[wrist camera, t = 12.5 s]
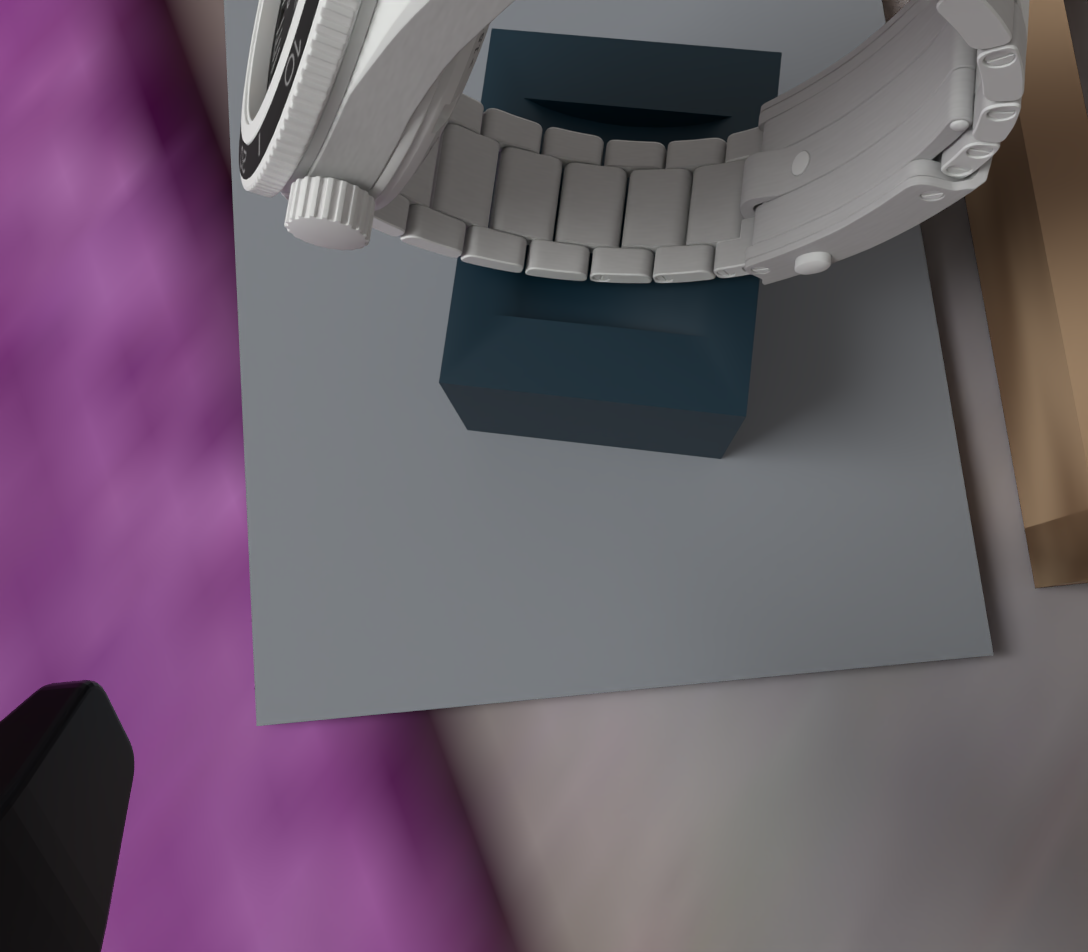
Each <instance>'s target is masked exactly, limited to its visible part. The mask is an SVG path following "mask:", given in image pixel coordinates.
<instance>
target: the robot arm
mask: <svg viewBox="0 0 1088 952" xmlns="http://www.w3.org/2000/svg"><path fill="white" fill-rule="evenodd" d="M133 775H134V754H133V750H132V746H131V743H130V741H129V739H128V737H127V735H126V733H125V731H124V729H123V727H122V725H121V723H120V721H119V719H118V717H117V715H116V712H115V710H114V708H113V706H112V704H111V702H110V700H109V698H108V696H107V694H106V692H105V691H104V689H103V688H102V687H101V686H100V685H99V684H98V683H96V682H95V681H90V680H82V681H72V682H61V683H52V684H48V685H45V686H43V687H41V688H40V689H39V690H37V691H36V692H35V693H33V694H32V695H31V696H30V697H29V698H27V699H26V700H25V701H24V702H23V703H22V704H20V705H19V706H18V707H17V708H16V709H15V710H13V711H12V712H11V713H10V714H9V715H8V716H6V717H5V718H4V719H3V720H2V721H0V952H101V949H102V944H103V939H104V934H105V930H106V925H107V920H108V915H109V909H110V904H111V898H112V892H113V887H114V881H115V876H116V870H117V865H118V859H119V854H120V848H121V842H122V837H123V831H124V826H125V820H126V815H127V809H128V804H129V798H130V792H131V787H132V781H133Z"/></svg>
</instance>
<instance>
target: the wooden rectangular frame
mask: <svg viewBox="0 0 1088 952" xmlns="http://www.w3.org/2000/svg"><path fill="white" fill-rule="evenodd" d="M965 200H966V206H967V211H968V217H969V222H970V228H971V233H972V239H973V245H974V250H975V256H976V261H977V267H978V272H979V278H980V283H981V289H982V295H983V300H984V306H985V311H986V317H987V322H988V328H989V333H990V339H991V345H992V350H993V356H994V361H995V367H996V372H997V378H998V384H999V389H1000V395H1001V400H1002V406H1003V411H1004V417H1005V422H1006V428H1007V434H1008V439H1009V445H1010V450H1011V456H1012V461H1013V467H1014V472H1015V478H1016V484H1017V489H1018V495H1019V500H1020V506H1021V511H1022V517H1023V522H1024V528H1025V534H1026V539H1027V545H1028V550H1029V556H1030V561H1031V567H1032V572H1033V578H1034V584H1035V588H1042V587H1052V586H1063V585H1073V584H1083V583H1088V117H1087V112H1086V107H1085V103H1084V98H1083V93H1082V88H1081V83H1080V78H1079V73H1078V68H1077V64H1076V59H1075V54H1074V49H1073V44H1072V39H1071V34H1070V30H1069V25H1068V20H1067V15H1066V10H1065V5H1064V0H1029V18H1028V36H1027V50H1026V65H1025V83H1024V93H1023V95H1022V99H1021V110H1020V113H1019V115H1018V118H1017V121H1016V123H1015V125H1014V127H1013V128H1012V130H1011V131H1010V133H1009V134H1008V136H1007V137H1006V139H1004V140H1003V141H1001V142H1000V148H999V149H998V151H997V152H996V153H995V154H994V155H993V157H992V161H991V165H990V169H989V173H988V176H987V180H986V182H984V183H983V184H982V185H980V186H979V187H978V188H976V189H975V190H973V191H972V192H970V193H969V194H967V195H966V196H965Z"/></svg>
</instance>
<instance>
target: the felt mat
mask: <svg viewBox="0 0 1088 952" xmlns="http://www.w3.org/2000/svg"><path fill="white" fill-rule="evenodd" d="M258 3H259V0H224V15H225V37H226V59H227V81H228V103H229V125H230V147H231V169H232V191H233V213H234V235H235V257H236V280H237V302H238V324H239V346H240V368H241V390H242V412H243V434H244V456H245V478H246V500H247V522H248V545H249V567H250V589H251V611H252V633H253V655H254V677H255V699H256V721H257V726H262V725H273V724H283V723H294V722H304V721H314V720H325V719H335V718H346V717H356V716H366V715H377V714H387V713H398V712H408V711H418V710H429V709H439V708H450V707H460V706H470V705H481V704H491V703H502V702H512V701H522V700H533V699H543V698H554V697H564V696H574V695H585V694H595V693H606V692H616V691H626V690H637V689H647V688H658V687H668V686H679V685H689V684H699V683H710V682H720V681H731V680H741V679H751V678H762V677H772V676H783V675H793V674H803V673H814V672H824V671H835V670H845V669H855V668H866V667H876V666H887V665H897V664H907V663H918V662H928V661H939V660H949V659H959V658H970V657H980V656H991V655H994V654H993V649H992V643H991V637H990V631H989V625H988V619H987V613H986V608H985V602H984V596H983V590H982V584H981V578H980V572H979V567H978V561H977V555H976V549H975V543H974V537H973V531H972V526H971V520H970V514H969V508H968V502H967V496H966V490H965V485H964V479H963V473H962V467H961V461H960V455H959V449H958V444H957V438H956V432H955V426H954V420H953V414H952V408H951V403H950V397H949V391H948V385H947V379H946V373H945V368H944V362H943V356H942V350H941V344H940V338H939V332H938V327H937V321H936V315H935V309H934V303H933V297H932V291H931V286H930V280H929V274H928V268H927V262H926V256H925V250H924V245H923V239H922V233H921V227H920V224H918V225H916V226H914V227H912V228H911V229H909V230H907V231H905V232H903V233H901V234H899V235H897V236H895V237H893V238H891V239H889V240H887V241H885V242H883V243H881V244H879V245H876V246H874V247H872V248H870V249H867V250H865V251H863V252H860V253H858V254H855V255H853V256H850V257H848V258H845V259H843V260H840V261H837V262H834V263H832V264H831V265H830V267H829V268H828V269H827V270H825V271H822V272H819V273H815V274H809V275H803V274H800V275H797V276H793V277H790V278H787V279H784V280H780V281H777V282H773V283H770V284H766V285H764V284H763V283H762V279H761V278H760V281H759V292H758V302H757V312H756V322H755V332H754V342H753V353H752V363H751V373H750V383H749V393H748V404H747V414H746V418H745V420H744V421H743V423H742V425H741V426H740V428H739V430H738V431H737V433H736V435H735V436H734V438H733V440H732V441H731V443H730V445H729V446H728V448H727V450H726V451H725V453H724V455H723V456H722V458H721V459H715V458H707V457H698V456H689V455H680V454H672V453H663V452H654V451H645V450H637V449H628V448H619V447H610V446H602V445H593V444H584V443H575V442H567V441H558V440H549V439H540V438H532V437H523V436H514V435H505V434H497V433H488V432H479V431H470V430H467V429H466V427H465V425H464V424H463V422H462V420H461V419H460V417H459V415H458V414H457V412H456V410H455V409H454V407H453V405H452V404H451V402H450V400H449V399H448V397H447V395H446V394H445V392H444V390H443V389H442V387H441V385H440V384H439V378H440V371H441V365H442V358H443V351H444V345H445V338H446V331H447V324H448V318H449V311H450V304H451V298H452V291H453V284H454V278H455V271H456V264H457V258H458V257H457V258H453V257H448V256H445V255H441V254H438V253H435V252H431V251H428V250H425V249H422V248H419V247H416V246H413V245H410V244H408V243H405V242H403V241H401V239H400V238H401V235H400V236H391V235H388V234H386V233H383V232H381V231H379V230H376V229H374V228H372V230H371V236H370V241H369V244H368V245H367V246H363V248H362V249H355V250H337V249H328V248H325V247H320V246H315V245H314V244H311V243H307V242H304V241H303V240H301V239H299V238H296V237H295V236H294V235H293V234H292V233H290V232H288V231H287V228H286V227H285V225H284V223H285V218H286V212H287V207H288V200H287V199H286V198H285V197H284V196H283V195H282V194H281V191H280V192H279V193H278V194H277V195H275V196H274V197H271V198H269V197H266V196H262V195H259V194H256V193H252V192H249V191H246V190H245V189H244V187H243V185H242V181H241V175H240V169H239V139H240V127H241V116H242V103H243V94H244V86H245V79H246V72H247V65H248V58H249V52H250V46H251V40H252V34H253V29H254V24H255V18H256V13H257V8H258ZM885 23H886V22H885V16H884V10H883V5H882V0H515V1H514V2H512V3H511V4H510V5H509V6H508V7H507V8H506V9H505V10H503V11H502V12H501V13H500V14H499V15H498V16H497V17H496V18H495V19H494V20H493V21H492V22H490V25H489V28H488V30H487V33H486V36H485V39H484V41H483V44H482V47H481V49H480V52H479V54H478V57H477V60H476V62H475V64H474V67H473V69H472V72H471V74H470V76H469V79H468V81H467V83H466V86H465V88H464V90H463V92H462V93H463V94H465V95H467V96H469V97H471V98H473V99H475V100H477V101H479V102H480V103H481V97H482V90H483V84H484V77H485V70H486V63H487V57H488V50H489V43H490V37H491V30H492V28H495V29H507V30H519V31H531V32H543V33H555V34H567V35H579V36H591V37H603V38H615V39H627V40H639V41H651V42H663V43H675V44H687V45H699V46H711V47H723V48H735V49H747V50H759V51H771V52H782V57H781V68H780V78H779V88H778V96H780V95H782V94H784V93H786V92H787V91H789V90H791V89H793V88H795V87H796V86H798V85H800V84H802V83H803V82H805V81H807V80H808V79H810V78H812V77H814V76H815V75H817V74H818V73H820V72H822V71H823V70H825V69H826V68H828V67H829V66H831V65H833V64H834V63H836V62H837V61H839V60H840V59H842V58H843V57H844V56H846V55H847V54H849V53H850V52H851V51H853V50H854V49H855V48H857V47H858V46H859V45H860V44H862V43H863V42H864V41H865V40H867V39H868V38H869V37H870V36H872V35H873V34H874V33H875V32H876V31H877V30H879V29H880V28H881V27H882V26H883V25H884V24H885Z"/></svg>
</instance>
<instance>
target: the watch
mask: <svg viewBox="0 0 1088 952" xmlns="http://www.w3.org/2000/svg"><path fill="white" fill-rule="evenodd" d="M514 1H515V0H259V3H258V8H257V13H256V18H255V24H254V29H253V34H252V40H251V46H250V52H249V58H248V65H247V72H246V79H245V86H244V94H243V103H242V116H241V127H240V139H239V169H240V175H241V181H242V185H243V187H244V189H245V190H246V191H249V192H252V193H256V194H259V195H262V196H266V197H269V198H271V197H274V196H275V195H277V194H278V193H279V192H280V191H281V194H282V195H283V196H284V197H285V198H286V199H287V200H288V207H287V212H286V218H285V223H284V225H285V227H286V228H287V231H288V232H290V233H292V234H293V235H294V236H295V237H296V238H299V239H301V240H303V241H304V242H307V243H311V244H314V245H315V246H320V247H325V248H328V249H337V250H355V249H362V248H363V246H367V245H368V244H369V241H370V236H371V230H372V228H374V229H376V230H379V231H381V232H383V233H386V234H388V235H391V236H400V235H401V238H400V239H401V241H403V242H405V243H408V244H410V245H413V246H416V247H419V248H422V249H425V250H428V251H431V252H435V253H438V254H441V255H445V256H448V257H453V258H457V257H458V258H457V264H456V271H455V278H454V284H453V291H452V298H451V304H450V311H449V318H448V324H447V331H446V338H445V345H444V351H443V358H442V365H441V371H440V378H439V384H440V385H441V387H442V389H443V390H444V392H445V394H446V395H447V397H448V399H449V400H450V402H451V404H452V405H453V407H454V409H455V410H456V412H457V414H458V415H459V417H460V419H461V420H462V422H463V424H464V425H465V427H466V429H467V430H470V431H479V432H488V433H497V434H505V435H514V436H523V437H532V438H540V439H549V440H558V441H567V442H575V443H584V444H593V445H602V446H610V447H619V448H628V449H637V450H645V451H654V452H663V453H672V454H680V455H689V456H698V457H707V458H715V459H721V458H722V456H723V455H724V453H725V451H726V450H727V448H728V446H729V445H730V443H731V441H732V440H733V438H734V436H735V435H736V433H737V431H738V430H739V428H740V426H741V425H742V423H743V421H744V420H745V418H746V414H747V404H748V393H749V383H750V373H751V363H752V353H753V342H754V332H755V322H756V312H757V302H758V292H759V281H760V278H761V279H762V283H763V284H764V285H766V284H770V283H773V282H777V281H780V280H784V279H787V278H790V277H793V276H797V275H800V274H803V275H809V274H815V273H819V272H822V271H825V270H827V269H828V268H829V267H830V265H831V264H832V263H834V262H837V261H840V260H843V259H845V258H848V257H850V256H853V255H855V254H858V253H860V252H863V251H865V250H867V249H870V248H872V247H874V246H876V245H879V244H881V243H883V242H885V241H887V240H889V239H891V238H893V237H895V236H897V235H899V234H901V233H903V232H905V231H907V230H909V229H911V228H912V227H914V226H916V225H918V224H920V223H922V222H923V221H925V220H927V219H929V218H930V217H932V216H934V215H935V214H937V213H939V212H941V211H942V210H944V209H945V208H947V207H949V206H950V205H952V204H954V203H955V202H957V201H958V200H960V199H961V198H963V197H964V196H966V195H967V194H969V193H970V192H972V191H973V190H975V189H976V188H978V187H979V186H980V185H982V184H983V183H984V182H986V180H987V176H988V173H989V169H990V165H991V161H992V157H993V155H994V154H995V153H996V152H997V151H998V149H999V148H1000V142H1001V141H1003V140H1004V139H1006V137H1007V136H1008V134H1009V133H1010V131H1011V130H1012V128H1013V127H1014V125H1015V123H1016V121H1017V118H1018V115H1019V113H1020V110H1021V99H1022V95H1023V93H1024V83H1025V65H1026V50H1027V36H1028V18H1029V0H910V1H909V2H908V3H907V4H906V5H905V6H904V7H903V8H902V9H901V10H900V11H899V12H898V13H896V14H895V15H894V16H893V17H892V18H891V19H890V20H889V21H888V22H887V23H885V24H884V25H883V26H882V27H881V28H880V29H879V30H877V31H876V32H875V33H874V34H873V35H872V36H870V37H869V38H868V39H867V40H865V41H864V42H863V43H862V44H860V45H859V46H858V47H857V48H855V49H854V50H853V51H851V52H850V53H849V54H847V55H846V56H844V57H843V58H842V59H840V60H839V61H837V62H836V63H834V64H833V65H831V66H829V67H828V68H826V69H825V70H823V71H822V72H820V73H818V74H817V75H815V76H814V77H812V78H810V79H808V80H807V81H805V82H803V83H802V84H800V85H798V86H796V87H795V88H793V89H791V90H789V91H787V92H786V93H784V94H782V95H780V96H778V88H779V78H780V68H781V57H782V52H771V51H759V50H747V49H735V48H723V47H711V46H699V45H687V44H675V43H663V42H651V41H639V40H627V39H615V38H603V37H591V36H579V35H567V34H555V33H543V32H531V31H519V30H507V29H495V28H492V30H491V37H490V43H489V50H488V57H487V63H486V70H485V77H484V84H483V90H482V97H481V103H480V102H479V101H477V100H475V99H473V98H471V97H469V96H467V95H465V94H463V93H462V92H463V90H464V88H465V86H466V83H467V81H468V79H469V76H470V74H471V72H472V69H473V67H474V64H475V62H476V60H477V57H478V54H479V52H480V49H481V47H482V44H483V41H484V39H485V36H486V33H487V30H488V28H489V25H490V22H492V21H493V20H494V19H495V18H496V17H497V16H498V15H499V14H500V13H501V12H502V11H503V10H505V9H506V8H507V7H508V6H509V5H510V4H511V3H512V2H514Z"/></svg>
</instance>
